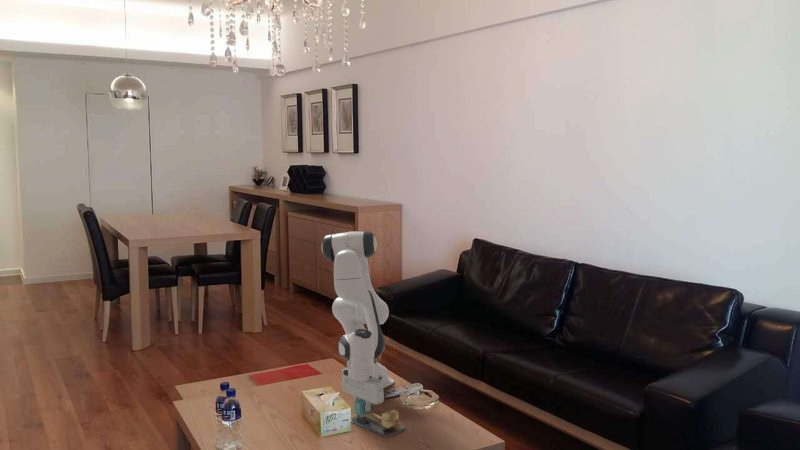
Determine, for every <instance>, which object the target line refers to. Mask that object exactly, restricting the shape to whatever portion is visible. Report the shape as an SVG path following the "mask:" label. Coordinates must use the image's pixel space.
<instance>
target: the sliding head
mask: <svg viewBox="0 0 800 450" xmlns="http://www.w3.org/2000/svg"><path fill="white" fill-rule="evenodd" d="M364 406H366V403H365V400H363V399H361V400H358V401H355V400H354V414H355V415H356V417H357V418H359V415H363V414H365V413H368V412H371V413H372V407H371V405H370V410H369V411H364Z"/></svg>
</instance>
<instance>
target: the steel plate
mask: <svg viewBox="0 0 800 450" xmlns="http://www.w3.org/2000/svg"><path fill="white" fill-rule="evenodd" d="M377 415H378V414H377ZM378 416H380V415H378ZM351 418H352V422H353V423H352V422H351V423H352V424H353V425H356V424H357V425H356V426H358V427H361V428H363V429H364V430H368V431H369V432H371V433H372V432H373V433H374V434H376V435H378V436H381V437H383V438H385V439H387V438H389V437H392V436H395V435H397V434H399V433H402V432H405V431H407V426H404V425H402V424H400V425H401V429H399V430H395V429H392V428H387V431H385V427H383V426H382V424H381V423H378V422H376V421H374V420H371V419H369V418H367V417H364V416H362V415H359V418H357V416H354V417H351Z"/></svg>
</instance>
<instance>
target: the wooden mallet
mask: <svg viewBox="0 0 800 450" xmlns="http://www.w3.org/2000/svg"><path fill="white" fill-rule="evenodd" d="M362 416H364V417H367V418H369V419H371V420H374V421H376V422H378V423H381V424H382V426H383V427H385V431H387V428H392V429H395V430H399V429H401V425H402V424H400V423H399V422H400V421H399V419H400V418H399V417H400V416H399V411H397V410H395V409H392V410H388V411H386V412H383V413H381V416H380V415H379V416H378V414H376V413H373V412H372V411H371V412H368V413H365V414H363V415H362Z"/></svg>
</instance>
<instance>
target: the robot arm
mask: <svg viewBox="0 0 800 450" xmlns="http://www.w3.org/2000/svg"><path fill="white" fill-rule="evenodd" d="M377 248H378V241H377V238H376V236H375V234H374V233H373V232H372V231H366V230H364V231H353V230H352V231H347V232H346V231H345V232H340V233H335V234H334V233H331V234H326V235H325V236H324V237H323V239H322V242H321V252H322V255H323V257H324V258H325V259H326V260H328V261H330V263H331V264H333V284H334V287H333V288H334V291H335V293H336V295H337V296H338V297H336V299H334V301H333V302H332V306H331V310H332V312H331V313H332V315H333V316H334V317H335V319H336V320H337V321H338V322H339V323H340V324H341V326H342V328H343V330H344V332H345V333H344V335H342V336H341V337H340V338H339V340H338V342H337V351H338V355H340V357H341V358H342V359H344V360H346V361H345V363H346V367H345V368H343V369H341V375H342V377H341V389H342V392H344V393H346V394H348V395H351V396H353V400H354V402H355V401H358V400H360V398H361V399H363V400H365V403H366V406H364V411H369V410H370V405H371V403H373V404H374V405H376V406H377V405H380V404H383V402H385V396H384V395H385V394H384V392H385V391H384V389H385V388H387V387H389V386H391V385H393V384H394V383H395V381H394V379H393V378H391V377H390V375H389V371H388V369H387V368H386V366H384V365H382V364H381V363H379V362H378V361H377V360H380V359H381V358H382V353H383V352H384V351H385V348H386V340H385V337H384V334H383V331H382V328H381V325H384V323H386V321H387V320H388V318H389V313H390V311H389V307H388V306H389V305H388V304H387V303H386V302H385V301H384V300H383V299H381V298H380V297H379V295H378V294H377V293H376V291H375V289H374V286H373V284H372V281H371V276H370V269H369V268H370V267H369V260H368V258H371V257H372V256H374V255H375V254H376V252H377ZM364 325H366V326H367V329H366V327H365V326H364Z"/></svg>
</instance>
